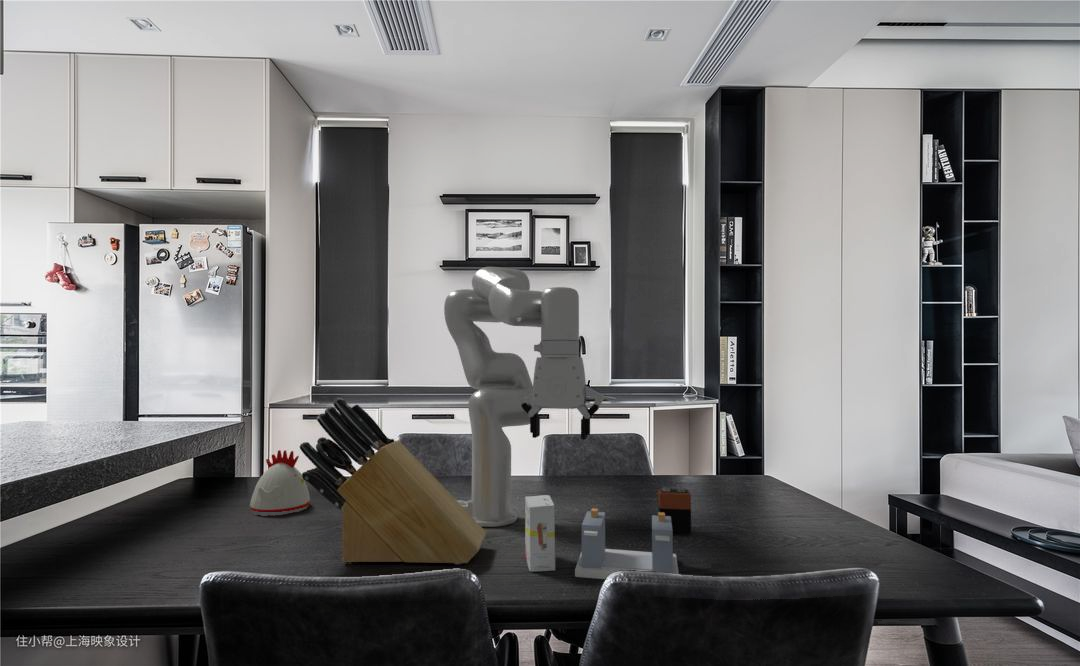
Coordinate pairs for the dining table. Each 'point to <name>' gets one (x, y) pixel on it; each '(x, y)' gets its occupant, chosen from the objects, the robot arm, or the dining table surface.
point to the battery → (676, 508)
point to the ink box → (539, 533)
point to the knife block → (386, 495)
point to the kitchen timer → (280, 486)
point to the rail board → (607, 561)
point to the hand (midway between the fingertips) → (559, 437)
